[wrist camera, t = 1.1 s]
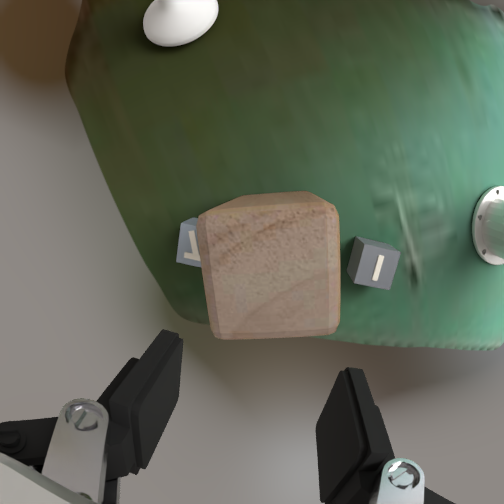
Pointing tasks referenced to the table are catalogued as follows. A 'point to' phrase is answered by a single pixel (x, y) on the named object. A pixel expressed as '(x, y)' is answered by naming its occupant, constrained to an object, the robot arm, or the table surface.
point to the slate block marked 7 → (188, 244)
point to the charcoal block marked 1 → (372, 263)
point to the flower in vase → (178, 20)
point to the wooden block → (271, 266)
